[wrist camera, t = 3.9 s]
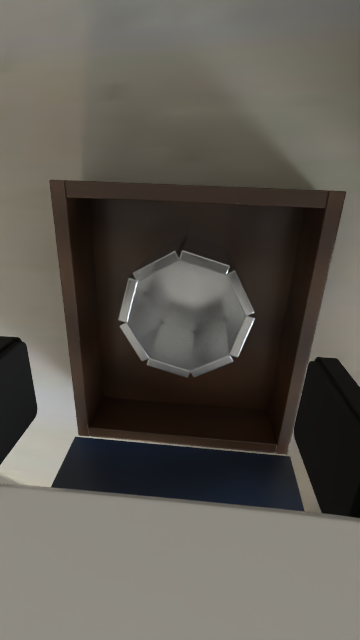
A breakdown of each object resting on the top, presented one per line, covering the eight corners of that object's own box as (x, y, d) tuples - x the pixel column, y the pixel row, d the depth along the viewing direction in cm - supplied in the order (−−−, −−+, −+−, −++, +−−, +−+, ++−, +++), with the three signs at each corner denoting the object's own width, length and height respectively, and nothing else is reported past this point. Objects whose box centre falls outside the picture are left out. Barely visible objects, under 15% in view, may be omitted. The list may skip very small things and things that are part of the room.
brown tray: (80, 181, 20) (48, 179, 16) (317, 191, 19) (346, 191, 15) (98, 398, 26) (78, 435, 22) (275, 413, 25) (287, 455, 21)
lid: (-262, 1130, 6) (-238, 1117, 7) (523, 1330, 5) (499, 1303, 6) (75, 436, 22) (76, 444, 22) (290, 456, 21) (288, 464, 21)
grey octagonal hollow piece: (214, 218, 19) (216, 229, 14) (256, 309, 21) (271, 347, 16) (123, 266, 21) (96, 291, 16) (171, 346, 23) (160, 391, 18)
